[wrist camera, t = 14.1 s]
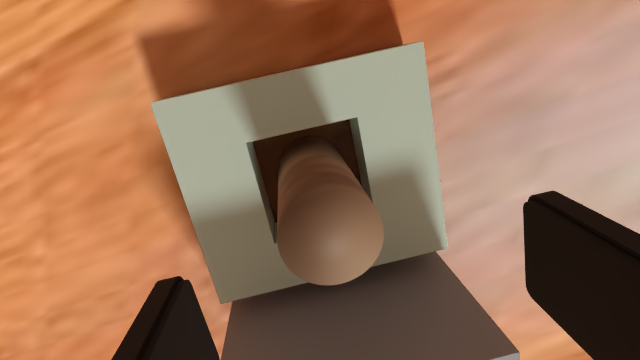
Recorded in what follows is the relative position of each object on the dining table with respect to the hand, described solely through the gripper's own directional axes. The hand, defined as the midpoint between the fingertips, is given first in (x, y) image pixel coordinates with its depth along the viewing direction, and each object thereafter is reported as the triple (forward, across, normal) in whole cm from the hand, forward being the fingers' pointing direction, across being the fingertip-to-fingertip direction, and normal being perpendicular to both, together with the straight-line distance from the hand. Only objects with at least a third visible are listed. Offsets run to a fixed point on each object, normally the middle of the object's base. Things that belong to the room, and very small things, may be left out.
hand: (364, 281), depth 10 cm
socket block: (+14, +1, +1) cm, 14 cm away
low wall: (+14, +1, +9) cm, 16 cm away
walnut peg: (+14, +1, +1) cm, 14 cm away
